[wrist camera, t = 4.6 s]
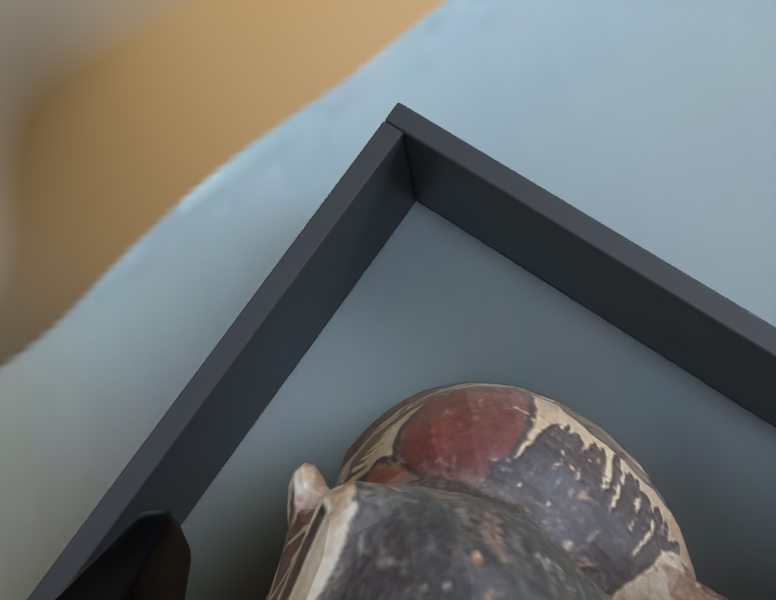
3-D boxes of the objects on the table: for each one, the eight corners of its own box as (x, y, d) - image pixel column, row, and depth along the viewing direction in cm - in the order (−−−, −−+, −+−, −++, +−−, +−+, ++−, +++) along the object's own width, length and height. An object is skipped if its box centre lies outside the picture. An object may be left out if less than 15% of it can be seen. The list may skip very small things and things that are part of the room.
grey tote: (573, 1038, 13) (618, 1282, 9) (96, 606, 15) (-18, 657, 12) (899, 479, 14) (1054, 492, 10) (411, 175, 17) (397, 100, 13)
